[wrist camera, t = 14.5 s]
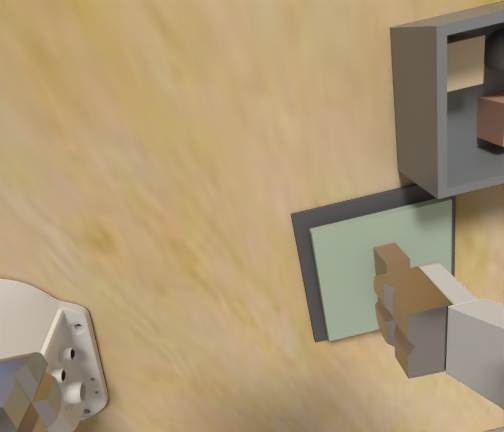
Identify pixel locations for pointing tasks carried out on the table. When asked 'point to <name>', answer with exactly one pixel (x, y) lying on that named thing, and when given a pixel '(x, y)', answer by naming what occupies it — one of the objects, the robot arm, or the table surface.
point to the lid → (375, 258)
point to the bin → (450, 100)
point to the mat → (340, 213)
